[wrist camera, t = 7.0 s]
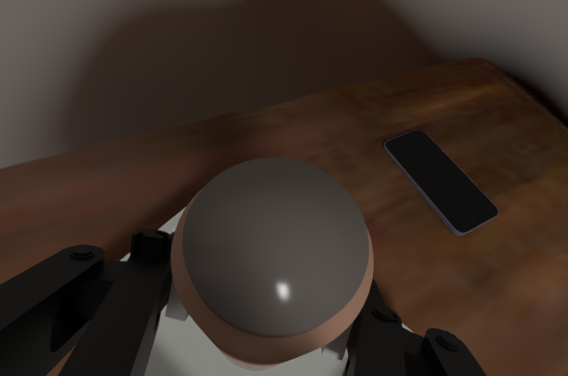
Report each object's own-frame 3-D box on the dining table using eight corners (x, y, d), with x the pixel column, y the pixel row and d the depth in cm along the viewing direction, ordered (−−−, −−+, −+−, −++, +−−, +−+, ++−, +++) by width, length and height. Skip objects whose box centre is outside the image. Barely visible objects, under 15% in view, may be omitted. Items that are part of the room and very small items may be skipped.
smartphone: (421, 127, 44) (503, 212, 37) (417, 132, 45) (497, 217, 38) (380, 142, 42) (460, 236, 35) (377, 147, 42) (454, 240, 36)
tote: (81, 323, 27) (53, 314, 23) (227, 197, 35) (225, 175, 31) (284, 573, 21) (292, 619, 17) (406, 351, 29) (432, 347, 25)
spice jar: (193, 322, 18) (114, 232, 7) (257, 258, 20) (272, 118, 9) (258, 394, 16) (287, 425, 5) (319, 316, 19) (423, 230, 8)
